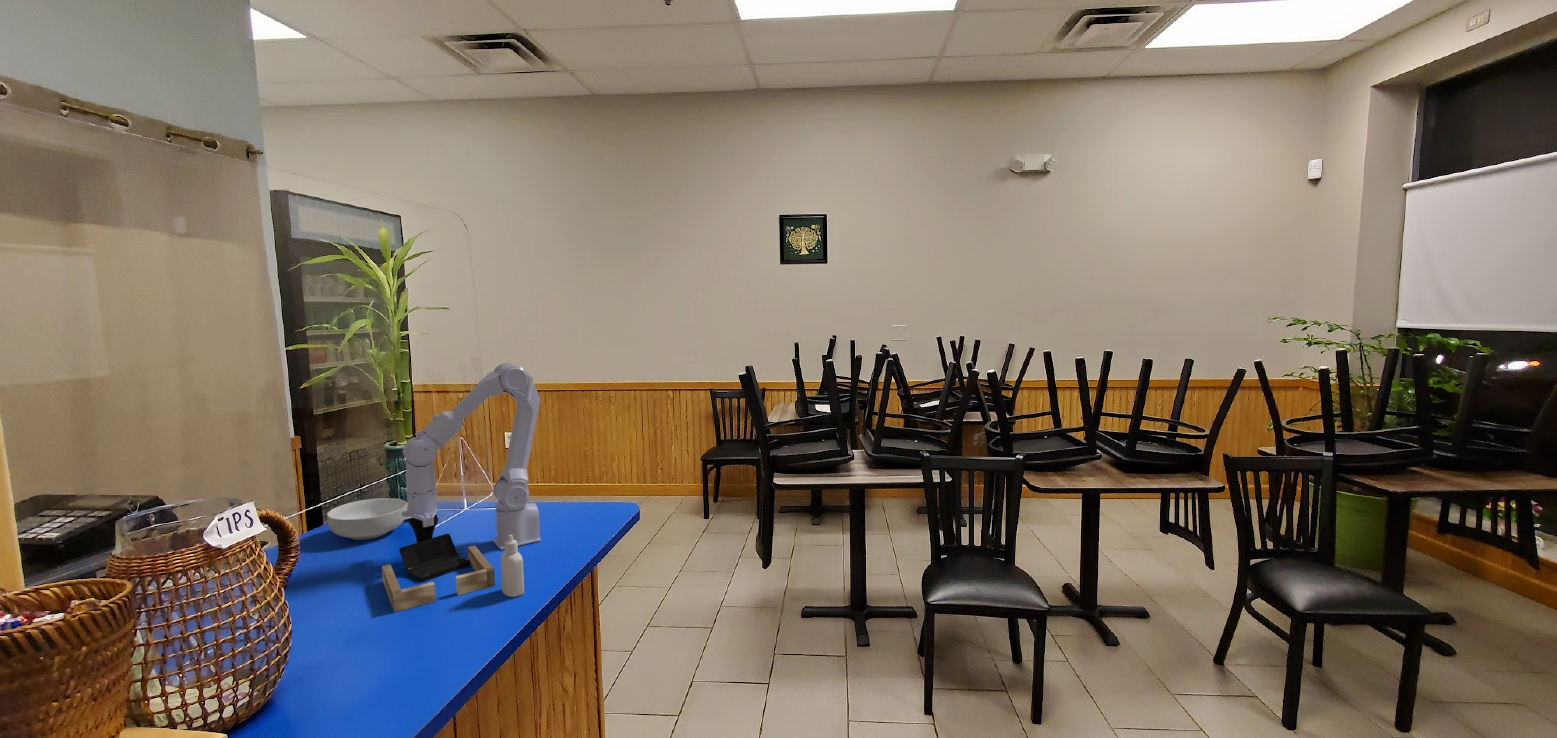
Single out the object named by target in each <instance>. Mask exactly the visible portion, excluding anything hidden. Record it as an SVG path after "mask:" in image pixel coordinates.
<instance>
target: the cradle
mask: <svg viewBox="0 0 1557 738" xmlns="http://www.w3.org/2000/svg"><path fill="white" fill-rule="evenodd" d="M467 560H470V565H469V566H471V567H472V569H473V570H474V571H471V572H467V573H464V574H459V575H456V576H455V589H456V591H455V592H456V595H457V596H460V595H465V594H468V593H473V592H476V591H479V590H485V589H488V588H491V587H494V586H496V578H495V577H496V575H495V568H494V567H493V565H492V564H490V562H489V561H488V560H487V559H486V558H485V556H484V555H483V553H482V552H481V551H480V550H479V548H478V547H476V545H475V544H474V545H471V546H467ZM381 572H382V573H381V575H382V584H383V586H384V588H385V591H386V594H387V596H388V599H389V602H390V604H391V607H392V610H393V612H394V613H397V612H402V611H404V610H409V609H412V608H417V607H419V605H420V606H423V605H427V604H431V603H435V602H437V601H436V597H437V596H436V584H435V582H434V581H431V582H427V583H423V584H420V585H415V586H410V587H407V588H401V587H400V584H399V582H398V578H397V577H396V574H395V572H394V569H393V567H392V565H391V564H385V565H382V566H381Z"/></svg>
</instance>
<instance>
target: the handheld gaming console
mask: <svg viewBox="0 0 1557 738" xmlns="http://www.w3.org/2000/svg"><path fill="white" fill-rule="evenodd" d="M398 551H399V554H400V557H401V560H402V562H403V564H404V567H405V570H406V571H407V574H406V576H408V577H410V578H412V579H414V580H416V581H418V582H420V583H423V582H425V581H426V582H427V581H429V580H431V579H435V578H438V577H440V576H442V575H446V574H449V573H451V572H454V571H457V570H460V569H462V568H465V567H468V566H471V565H470V560H468V558H464V557H462V556H460V555H459V553H458V552H457V549H456V546H455V544H454V542H453V539H452V537H451V534H450V533H444V534H441V535H438V536H433V537H432V538H431V539H428V540H424V541H421V542H418V543H417V542H415V543H411V544H409V545H404V546H401V547H400V548H399V549H398Z"/></svg>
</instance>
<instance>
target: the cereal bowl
mask: <svg viewBox="0 0 1557 738" xmlns="http://www.w3.org/2000/svg"><path fill="white" fill-rule="evenodd" d="M407 510H408V504H407V500H403V499H401V498H393V497H392V498H389V497H386V498H385V497H383V498H382V497H379V498H369V499H368V498H367V499H362V500H356V501H352V502H348V503H345V504H341V505H339V506H336V507H335V508H332V509H330V510H329V511H328V512H327V515H326V519H327V525H328V528H329V529H330V530H331V532H333V533H334V534H336V535H337V536H339V537H344V538H350V539H351V540H355V541H366V540H373V539H376V538H379V537H383V536H385V535H386V534H387V533H388V532H391V531H393V530H395V529H396V528H398V527H400V526H401V524H402V523H403V522H404V521H405V520H406V517H403V516H402V512H403V511H407ZM372 538H373V539H372Z"/></svg>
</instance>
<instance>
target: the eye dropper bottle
mask: <svg viewBox="0 0 1557 738" xmlns="http://www.w3.org/2000/svg"><path fill="white" fill-rule="evenodd" d="M504 547H505V549H504V552H503V553H501V555H500V577H501V579H500V582H501V584H500V585H501V592H502V593H503V595H505V596H506V597H509V598H516V597H520V596H522V595H524V594H525V581H524V561H523V560H524V559H523V556H522V554H521V553H520V552H519V551H518V547H519V546H518V544H517V541H516V540H514V539H513V535H509V537H508V541H506V542H505V543H504Z"/></svg>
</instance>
